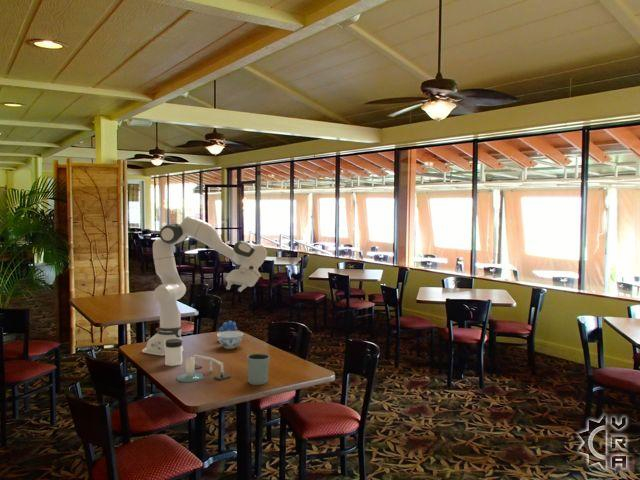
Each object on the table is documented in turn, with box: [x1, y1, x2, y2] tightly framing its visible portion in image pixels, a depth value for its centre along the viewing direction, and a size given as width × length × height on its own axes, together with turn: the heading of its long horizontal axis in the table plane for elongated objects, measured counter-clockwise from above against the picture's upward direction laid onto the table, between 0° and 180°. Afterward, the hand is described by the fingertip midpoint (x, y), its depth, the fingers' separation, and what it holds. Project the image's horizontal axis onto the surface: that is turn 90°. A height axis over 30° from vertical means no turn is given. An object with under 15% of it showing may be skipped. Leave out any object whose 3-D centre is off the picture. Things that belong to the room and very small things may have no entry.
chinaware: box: [216, 330, 244, 350], centre depth 292 cm, size 15×15×8 cm
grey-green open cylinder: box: [246, 352, 270, 386], centre depth 232 cm, size 10×10×12 cm
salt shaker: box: [185, 356, 196, 378], centre depth 236 cm, size 4×4×9 cm
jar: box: [164, 338, 183, 367], centre depth 259 cm, size 9×8×12 cm
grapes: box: [218, 319, 238, 333], centre depth 309 cm, size 12×7×12 cm, turn 116°
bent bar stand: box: [192, 354, 231, 382], centre depth 244 cm, size 27×6×7 cm, turn 50°
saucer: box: [176, 372, 204, 383], centre depth 236 cm, size 12×12×1 cm
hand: (233, 289), depth 264 cm, fingers open, 8 cm apart
